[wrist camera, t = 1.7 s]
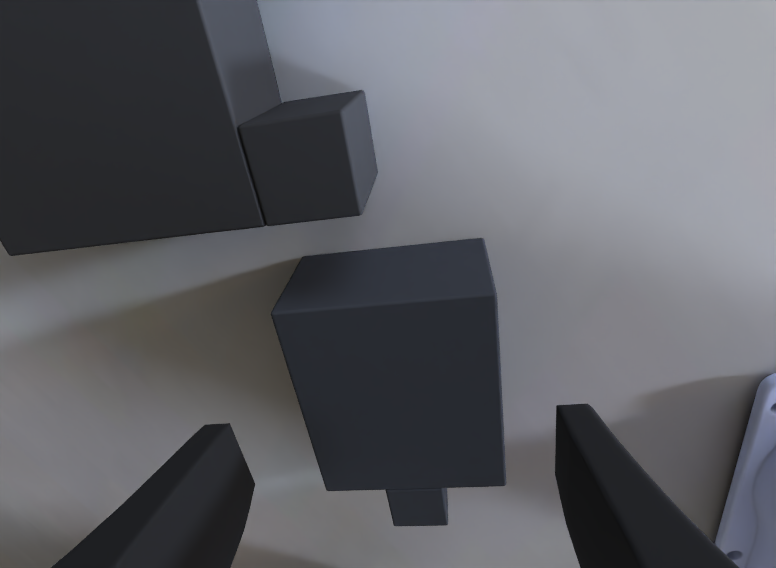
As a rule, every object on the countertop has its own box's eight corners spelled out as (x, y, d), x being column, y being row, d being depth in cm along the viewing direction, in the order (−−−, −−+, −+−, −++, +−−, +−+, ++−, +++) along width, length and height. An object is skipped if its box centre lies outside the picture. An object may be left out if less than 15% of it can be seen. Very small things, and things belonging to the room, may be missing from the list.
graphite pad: (484, 236, 12) (497, 293, 10) (496, 443, 16) (508, 525, 13) (301, 255, 13) (269, 313, 11) (352, 449, 17) (337, 528, 14)
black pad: (378, 174, 12) (362, 216, 9) (93, 210, 13) (8, 257, 10) (303, -281, 8) (242, -428, 6) (-85, -173, 9) (-289, -251, 7)
